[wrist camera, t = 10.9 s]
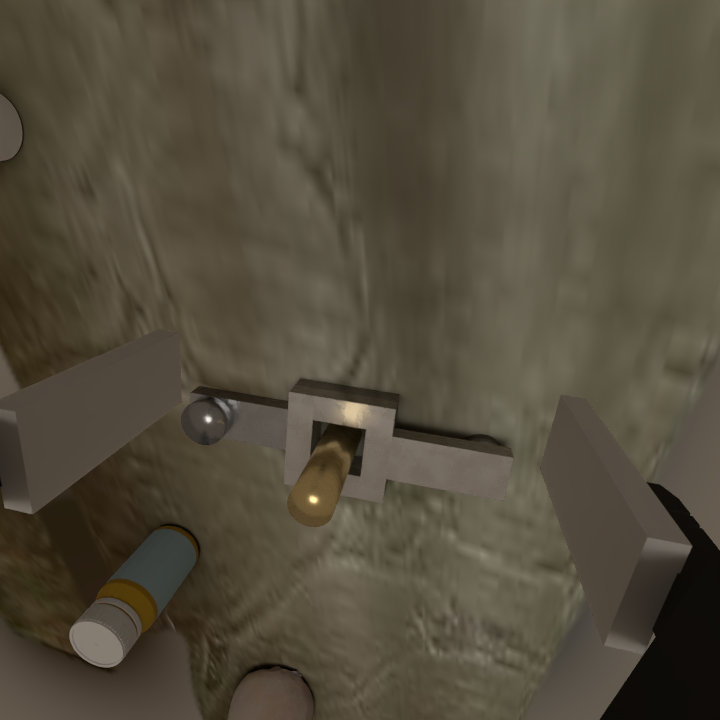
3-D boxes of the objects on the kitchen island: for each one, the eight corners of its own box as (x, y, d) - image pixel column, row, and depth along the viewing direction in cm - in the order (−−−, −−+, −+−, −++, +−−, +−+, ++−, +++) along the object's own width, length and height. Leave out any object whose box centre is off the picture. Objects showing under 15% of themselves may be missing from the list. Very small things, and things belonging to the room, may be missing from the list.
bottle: (209, 542, 59) (137, 644, 45) (187, 575, 62) (112, 681, 48) (165, 513, 59) (78, 606, 45) (144, 546, 62) (56, 644, 48)
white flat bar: (199, 362, 52) (179, 373, 48) (514, 413, 47) (520, 430, 43) (200, 447, 55) (182, 464, 51) (493, 502, 51) (497, 525, 47)
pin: (328, 412, 51) (288, 481, 38) (363, 418, 50) (335, 490, 37) (325, 444, 52) (286, 521, 39) (360, 450, 51) (331, 531, 38)
